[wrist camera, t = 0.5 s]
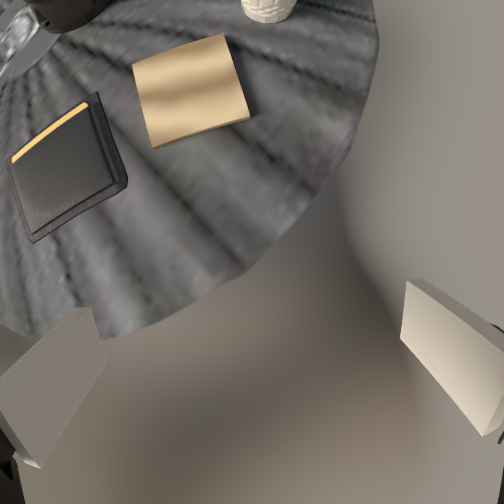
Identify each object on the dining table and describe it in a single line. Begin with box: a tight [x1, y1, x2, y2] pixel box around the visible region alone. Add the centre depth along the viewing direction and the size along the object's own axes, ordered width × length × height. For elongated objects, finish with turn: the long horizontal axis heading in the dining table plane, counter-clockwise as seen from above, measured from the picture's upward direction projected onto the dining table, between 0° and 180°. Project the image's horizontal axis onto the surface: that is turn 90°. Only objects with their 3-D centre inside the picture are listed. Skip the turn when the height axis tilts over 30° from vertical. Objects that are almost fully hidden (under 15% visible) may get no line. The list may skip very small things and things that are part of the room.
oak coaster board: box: [132, 34, 250, 149], centre depth 32 cm, size 12×12×2 cm
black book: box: [6, 91, 128, 244], centre depth 34 cm, size 20×2×15 cm
